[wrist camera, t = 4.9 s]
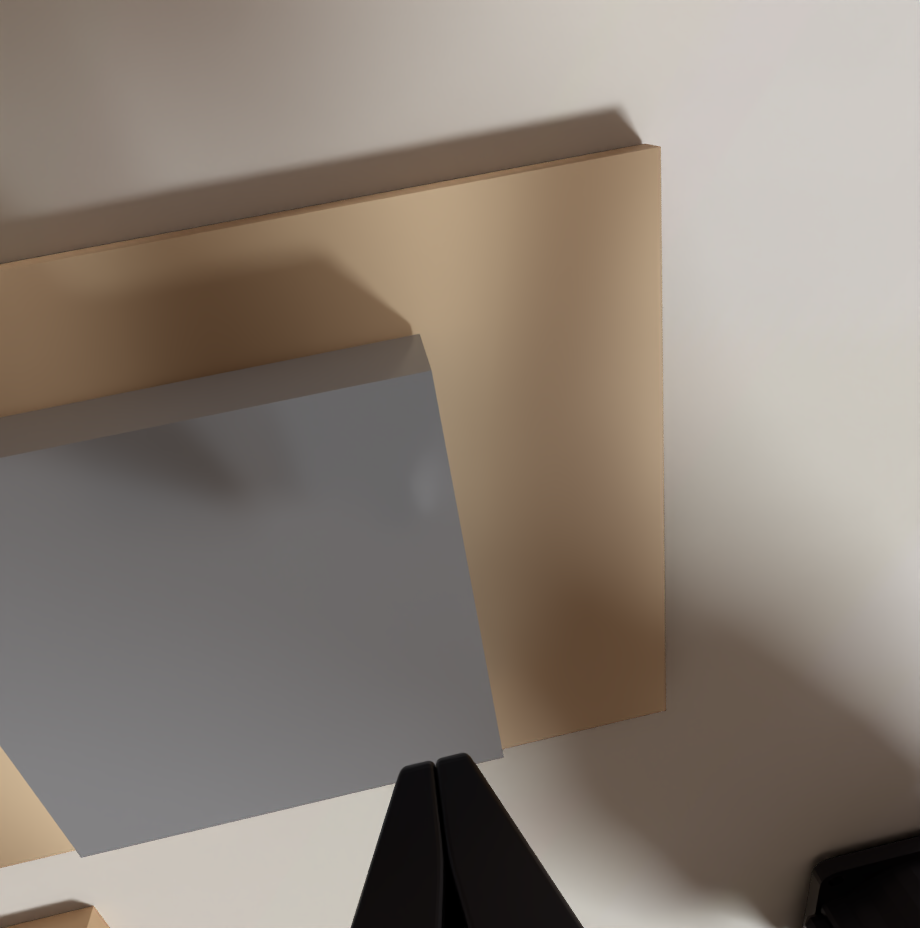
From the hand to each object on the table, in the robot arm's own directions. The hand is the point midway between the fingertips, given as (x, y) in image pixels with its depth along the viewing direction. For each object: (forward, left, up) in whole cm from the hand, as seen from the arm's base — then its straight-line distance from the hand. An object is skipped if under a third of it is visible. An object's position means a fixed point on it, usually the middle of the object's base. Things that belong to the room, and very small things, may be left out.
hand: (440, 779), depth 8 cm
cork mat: (+3, 0, -6) cm, 6 cm away
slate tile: (-1, 0, -4) cm, 4 cm away
